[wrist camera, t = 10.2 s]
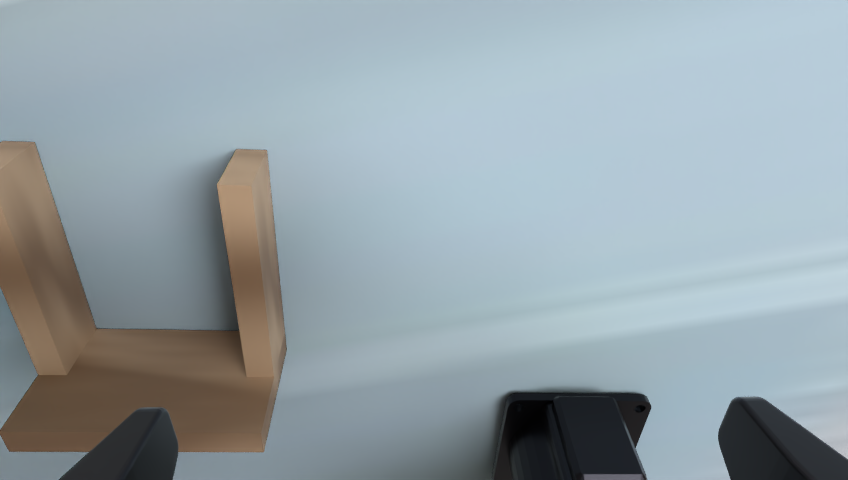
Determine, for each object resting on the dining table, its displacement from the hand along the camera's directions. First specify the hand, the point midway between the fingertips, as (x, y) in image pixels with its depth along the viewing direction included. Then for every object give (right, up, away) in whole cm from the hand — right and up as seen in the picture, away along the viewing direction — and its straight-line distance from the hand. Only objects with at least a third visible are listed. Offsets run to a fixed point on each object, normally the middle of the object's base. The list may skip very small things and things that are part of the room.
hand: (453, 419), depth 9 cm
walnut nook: (-10, +3, +12) cm, 16 cm away
